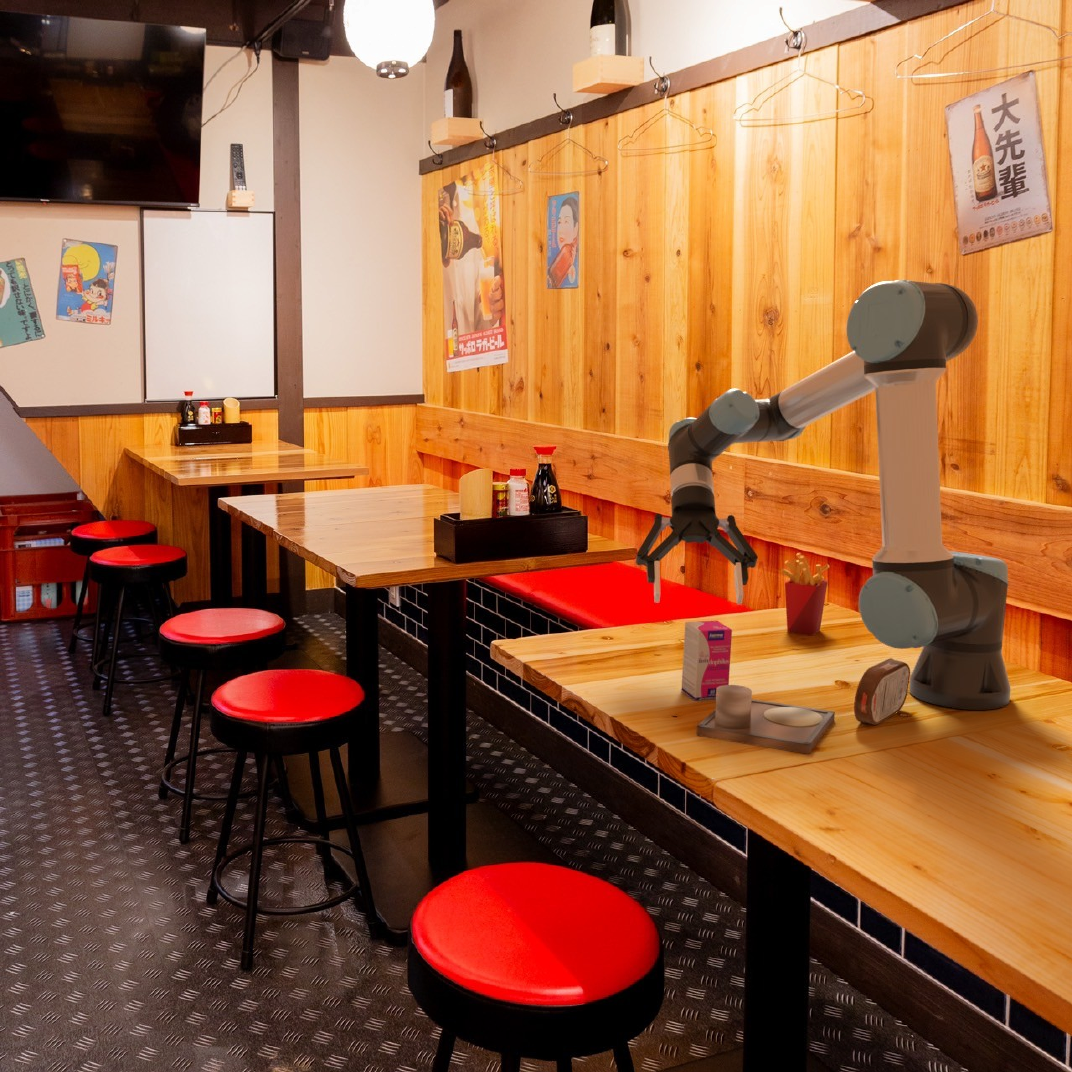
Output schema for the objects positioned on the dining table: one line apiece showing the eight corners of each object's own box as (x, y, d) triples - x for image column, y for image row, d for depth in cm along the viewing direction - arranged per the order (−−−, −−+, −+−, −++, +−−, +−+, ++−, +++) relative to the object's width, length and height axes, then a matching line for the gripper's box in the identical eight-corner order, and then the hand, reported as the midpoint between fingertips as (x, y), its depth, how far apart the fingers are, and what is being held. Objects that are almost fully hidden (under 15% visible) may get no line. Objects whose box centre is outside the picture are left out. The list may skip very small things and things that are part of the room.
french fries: (826, 630, 227) (830, 554, 224) (812, 639, 220) (816, 561, 217) (783, 623, 231) (786, 549, 229) (767, 632, 224) (771, 556, 222)
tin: (891, 704, 181) (895, 651, 180) (911, 708, 179) (915, 655, 178) (850, 728, 170) (853, 672, 168) (871, 733, 168) (874, 676, 166)
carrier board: (834, 720, 173) (836, 680, 172) (809, 754, 158) (811, 710, 157) (729, 704, 179) (731, 665, 178) (696, 735, 165) (698, 693, 164)
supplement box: (695, 701, 181) (698, 630, 179) (680, 690, 186) (683, 621, 184) (729, 699, 182) (732, 628, 180) (714, 688, 188) (716, 619, 186)
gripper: (760, 510, 206) (771, 612, 194) (620, 507, 207) (621, 609, 195) (767, 484, 200) (778, 588, 188) (622, 481, 201) (624, 585, 189)
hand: (698, 599), depth 191 cm, fingers open, 13 cm apart
